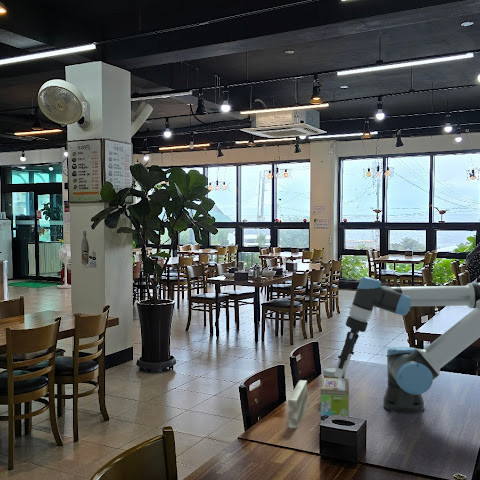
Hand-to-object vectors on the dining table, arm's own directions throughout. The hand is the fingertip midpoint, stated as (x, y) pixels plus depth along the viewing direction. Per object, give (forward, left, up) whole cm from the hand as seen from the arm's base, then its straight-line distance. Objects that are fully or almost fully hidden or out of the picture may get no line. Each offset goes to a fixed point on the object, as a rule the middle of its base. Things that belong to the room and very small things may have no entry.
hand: (340, 373), depth 201 cm
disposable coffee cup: (+5, -23, -17) cm, 29 cm away
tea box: (+2, +4, -17) cm, 18 cm away
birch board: (+16, 0, -17) cm, 23 cm away
